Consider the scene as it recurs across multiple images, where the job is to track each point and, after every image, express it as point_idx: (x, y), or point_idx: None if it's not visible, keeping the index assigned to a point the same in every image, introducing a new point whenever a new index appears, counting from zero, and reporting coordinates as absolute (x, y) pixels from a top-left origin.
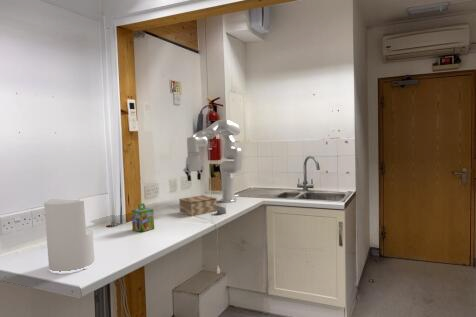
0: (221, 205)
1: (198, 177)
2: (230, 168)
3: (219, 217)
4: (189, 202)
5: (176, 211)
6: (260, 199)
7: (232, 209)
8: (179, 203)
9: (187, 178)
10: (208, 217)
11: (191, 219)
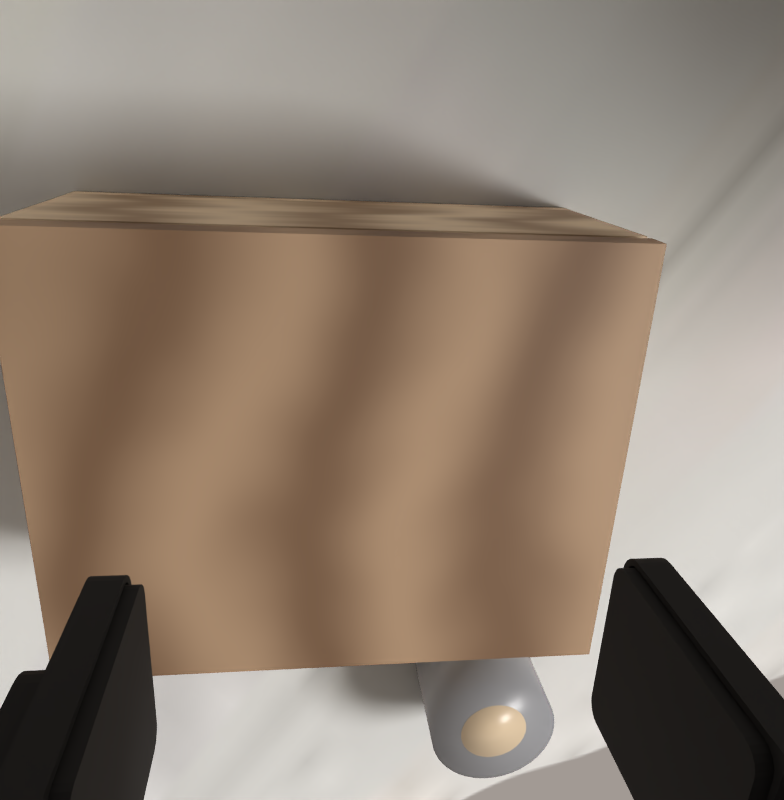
0: (518, 712)
1: (643, 706)
2: None
3: (324, 784)
4: (46, 614)
5: (61, 58)
6: None
7: (697, 593)
8: (18, 212)
9: (4, 709)
10: (235, 716)
11: (20, 671)
